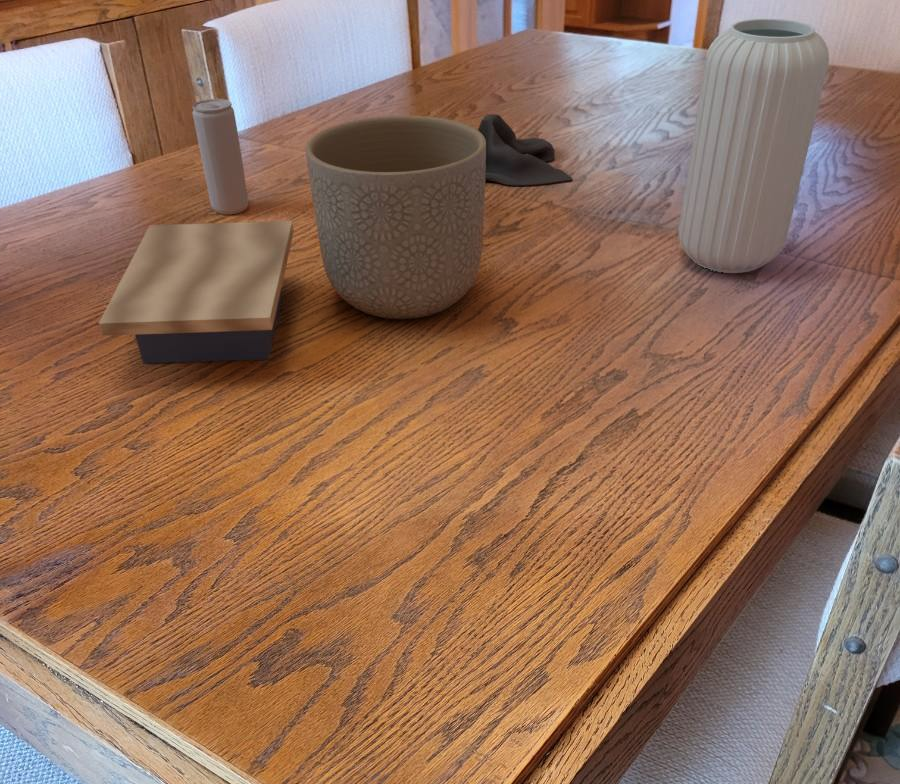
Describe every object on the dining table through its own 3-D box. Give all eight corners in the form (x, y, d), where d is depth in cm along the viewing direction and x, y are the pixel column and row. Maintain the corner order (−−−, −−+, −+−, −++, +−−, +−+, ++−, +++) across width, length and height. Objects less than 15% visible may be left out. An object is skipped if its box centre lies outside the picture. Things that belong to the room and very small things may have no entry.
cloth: (398, 180, 120) (396, 130, 116) (444, 137, 133) (443, 90, 129) (561, 196, 115) (564, 145, 111) (592, 150, 128) (596, 102, 123)
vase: (653, 257, 101) (685, 27, 86) (717, 230, 106) (758, 9, 91) (737, 291, 95) (788, 49, 79) (801, 260, 100) (861, 27, 84)
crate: (143, 363, 86) (129, 314, 82) (170, 298, 96) (159, 251, 92) (269, 359, 86) (260, 309, 83) (283, 294, 96) (276, 247, 93)
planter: (515, 310, 92) (520, 150, 82) (367, 352, 87) (352, 186, 76) (435, 252, 103) (431, 105, 93) (299, 287, 97) (277, 133, 87)
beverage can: (238, 198, 116) (219, 96, 108) (257, 209, 114) (240, 104, 105) (204, 208, 114) (183, 104, 106) (223, 219, 112) (203, 113, 103)
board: (102, 335, 79) (98, 323, 79) (152, 236, 95) (149, 225, 95) (272, 330, 80) (270, 317, 79) (294, 231, 96) (292, 220, 95)
